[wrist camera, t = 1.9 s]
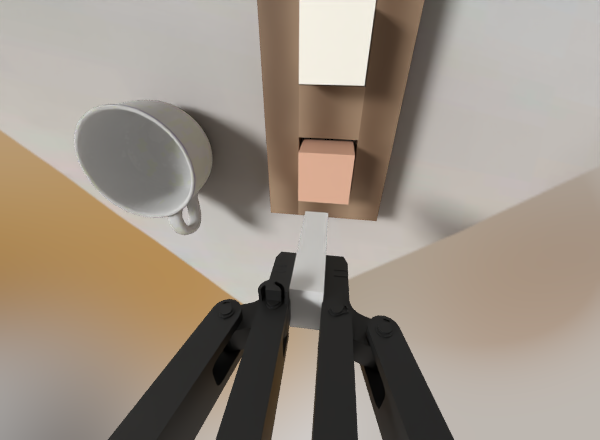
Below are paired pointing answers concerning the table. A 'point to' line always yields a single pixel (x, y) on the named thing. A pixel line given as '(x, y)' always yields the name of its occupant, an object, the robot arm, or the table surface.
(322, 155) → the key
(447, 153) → the table surface
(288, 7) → the keypad frame
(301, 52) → the key mid
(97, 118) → the teacup
